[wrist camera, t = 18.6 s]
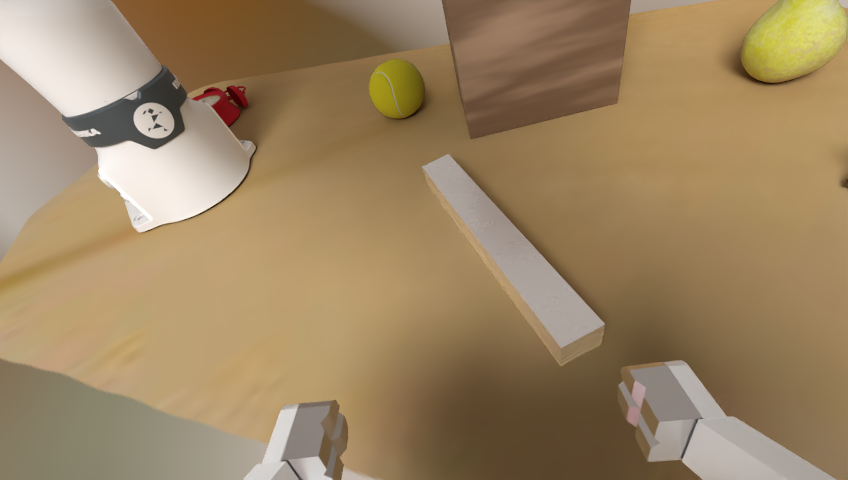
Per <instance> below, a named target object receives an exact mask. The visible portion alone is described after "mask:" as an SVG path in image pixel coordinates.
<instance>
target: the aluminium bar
mask: <svg viewBox="0 0 848 480" xmlns="http://www.w3.org/2000/svg"><path fill="white" fill-rule="evenodd" d="M422 169H423V172H424V175H425V178H426V181H427V184H428V187H429V188H430V190H431V191H432V193H433V194H434V195H435V197H436V198H437V199H438V201H439V202H440V203H441V205H442V206H443V207H444V209H445V210H446V212H447V213H448V214H449V216H450V217H451V218H452V220H453V221H454V222H455V224H456V225H457V226H458V228H459V229H460V231H461V232H462V233H463V235H464V236H465V237H466V239H467V240H468V241H469V243H470V244H471V245H472V247H473V248H474V250H475V251H476V252H477V254H478V255H479V256H480V258H481V259H482V260H483V262H484V263H485V264H486V266H487V267H488V269H489V270H490V271H491V273H492V274H493V275H494V277H495V278H496V279H497V281H498V282H499V283H500V285H501V286H502V288H503V289H504V290H505V292H506V293H507V294H508V296H509V297H510V298H511V300H512V301H513V302H514V304H515V305H516V307H517V308H518V309H519V311H520V312H521V313H522V315H523V316H524V317H525V319H526V320H527V322H528V323H529V324H530V326H531V327H532V328H533V330H534V331H535V332H536V334H537V335H538V336H539V338H540V339H541V341H542V342H543V343H544V345H545V346H546V347H547V349H548V350H549V351H550V353H551V354H552V355H553V357H554V358H555V360H556V361H557V362H558V364H559V365H560V366H563V365H564V364H566V363H568V362H570V361H572V360H574V359H575V358H577V357H579V356H581V355H583V354H585V353H586V352H588V351H590V350H592V349H594V348H596V347H597V346H599V345H601V343H602V338H603V333H604V328H605V323H604V322H603V321H602V320H601V319H600V318H599V317H598V316H597V315H596V314H595V313H594V311H593V310H592V309H591V308H590V307H589V306H588V305H587V304H586V303H585V302H584V301H583V300H582V298H581V297H580V296H579V295H578V294H577V293H576V292H575V291H574V290H573V289H572V288H571V286H570V285H569V284H568V283H567V282H566V281H565V280H564V279H563V278H562V277H561V276H560V275H559V273H558V272H557V271H556V270H555V269H554V268H553V267H552V266H551V265H550V264H549V263H548V261H547V260H546V259H545V258H544V257H543V256H542V255H541V254H540V253H539V252H538V251H537V250H536V248H535V247H534V246H533V245H532V244H531V243H530V242H529V241H528V240H527V239H526V238H525V236H524V235H523V234H522V233H521V232H520V231H519V230H518V229H517V228H516V227H515V226H514V225H513V223H512V222H511V221H510V220H509V219H508V218H507V217H506V216H505V215H504V214H503V213H502V211H501V210H500V209H499V208H498V207H497V206H496V205H495V204H494V203H493V202H492V201H491V200H490V198H489V197H488V196H487V195H486V194H485V193H484V192H483V191H482V190H481V189H480V188H479V186H478V185H477V184H476V183H475V182H474V181H473V180H472V179H471V178H470V177H469V176H468V175H467V173H466V172H465V171H464V170H463V169H462V168H461V167H460V166H459V165H458V164H457V163H456V161H455V160H454V159H453V158H452V157H451V156H450V155H449V154H447V155H445V156H443V157H441V158H439V159H436V160H434V161H432V162H430V163H428V164H426V165H424V166H422Z"/></svg>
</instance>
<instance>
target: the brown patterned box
mask: <svg viewBox="0 0 848 480" xmlns="http://www.w3.org/2000/svg"><path fill="white" fill-rule="evenodd" d="M630 3H631V0H442V4H443V9H444V14H445V20H446V25H447V30H448V35H449V40H450V46H451V51H452V56H453V61H454V66H455V72H456V77H457V82H458V87H459V91H460V95H461V100H462V104H463V108H464V112H465V116H466V121H467V125H468V129H469V133H470V138H471V139H472V138H476V137H480V136H484V135H489V134H493V133H497V132H501V131H505V130H509V129H513V128H517V127H521V126H525V125H529V124H533V123H537V122H541V121H546V120H550V119H554V118H558V117H562V116H566V115H570V114H574V113H578V112H582V111H586V110H590V109H594V108H598V107H602V106H607V105H611V104H615V103H617V100H618V92H619V85H620V78H621V70H622V63H623V56H624V48H625V41H626V34H627V26H628V19H629V12H630Z"/></svg>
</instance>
